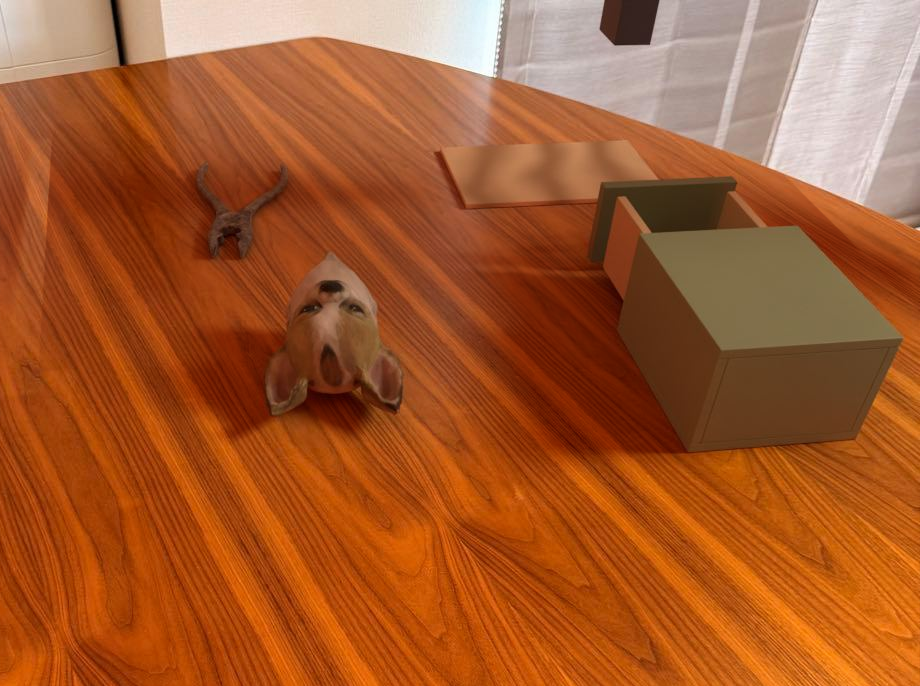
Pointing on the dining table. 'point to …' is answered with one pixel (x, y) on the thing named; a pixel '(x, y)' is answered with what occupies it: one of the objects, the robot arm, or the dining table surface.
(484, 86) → the dining table surface
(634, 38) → the block
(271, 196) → the pliers
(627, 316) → the cabinet
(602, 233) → the drawer
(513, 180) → the mat
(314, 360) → the ceramic sculpture
